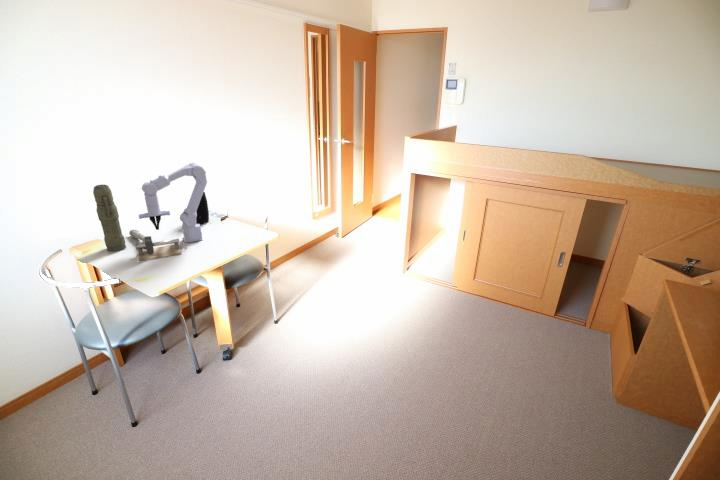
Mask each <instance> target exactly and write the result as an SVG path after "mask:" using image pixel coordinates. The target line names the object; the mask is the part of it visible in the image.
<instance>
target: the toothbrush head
mask: <svg viewBox="0 0 720 480" xmlns="http://www.w3.org/2000/svg"><path fill="white" fill-rule="evenodd" d="M128 234H129V236H131V237H132V238H134V239H137V240H139V241H140V242H141V241H142V242H141V243H140V245H141V244H145V239H144V237H149V235H148V236H145V235H144V234H143V233H141V232H140V231H139V230H138V229H130V231H129V233H128ZM152 243H154V242H153V240H152Z"/></svg>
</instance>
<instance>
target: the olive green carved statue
mask: <svg viewBox="0 0 720 480" xmlns="http://www.w3.org/2000/svg"><path fill="white" fill-rule="evenodd" d="M93 197H94V200H95V203H96V214H97V217H98V220H99V221H100V224H101V228H102V232H103V235H104V239H103V241H104V244H105V247H106V250H107V252H109V253H111V252H112V253H115V252H116V253H117V252H121V251H124V250H126V248H127V246H126V239H125V237H124V235H123V232H122V229H121V228H122V227H121V225H120V220H119V218H120V217H119V211H118V207H117V206H116V204H115V201H114V197H113V193H112V190H111V188H110V187H109V185H108V184H98V185H94V186H93Z"/></svg>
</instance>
